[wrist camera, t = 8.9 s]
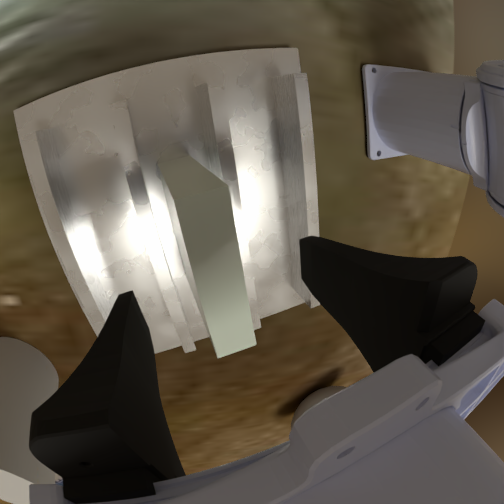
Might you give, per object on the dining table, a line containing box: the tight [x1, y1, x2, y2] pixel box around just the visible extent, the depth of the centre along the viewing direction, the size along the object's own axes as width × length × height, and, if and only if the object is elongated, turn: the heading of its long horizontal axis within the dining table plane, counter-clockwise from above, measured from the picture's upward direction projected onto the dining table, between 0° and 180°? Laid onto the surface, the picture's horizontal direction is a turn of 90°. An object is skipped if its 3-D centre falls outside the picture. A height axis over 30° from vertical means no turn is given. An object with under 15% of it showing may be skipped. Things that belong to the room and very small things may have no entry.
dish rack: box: [14, 48, 320, 354], centre depth 18 cm, size 18×20×4 cm
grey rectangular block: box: [158, 156, 256, 358], centre depth 16 cm, size 2×8×8 cm, turn 8°
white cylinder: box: [0, 337, 58, 504], centre depth 15 cm, size 8×8×12 cm
